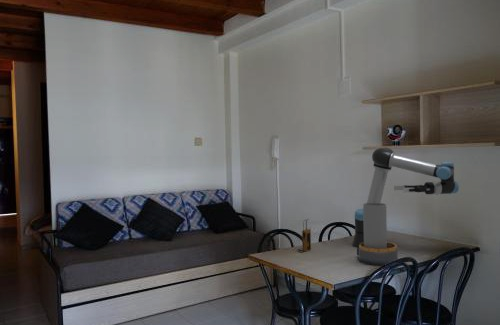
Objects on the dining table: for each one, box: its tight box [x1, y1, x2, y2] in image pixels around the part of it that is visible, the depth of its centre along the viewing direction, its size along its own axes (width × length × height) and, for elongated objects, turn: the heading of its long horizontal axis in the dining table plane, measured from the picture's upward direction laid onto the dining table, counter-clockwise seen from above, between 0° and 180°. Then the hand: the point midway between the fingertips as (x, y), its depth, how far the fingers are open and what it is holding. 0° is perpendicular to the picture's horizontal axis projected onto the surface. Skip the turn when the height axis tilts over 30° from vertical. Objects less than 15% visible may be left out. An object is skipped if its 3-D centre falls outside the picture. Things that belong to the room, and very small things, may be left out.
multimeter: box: [296, 219, 312, 254], centre depth 278 cm, size 15×10×20 cm
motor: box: [356, 241, 399, 267], centre depth 248 cm, size 24×21×9 cm
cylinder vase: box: [362, 202, 388, 249], centre depth 247 cm, size 12×12×25 cm
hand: (398, 189), depth 269 cm, fingers open, 13 cm apart
